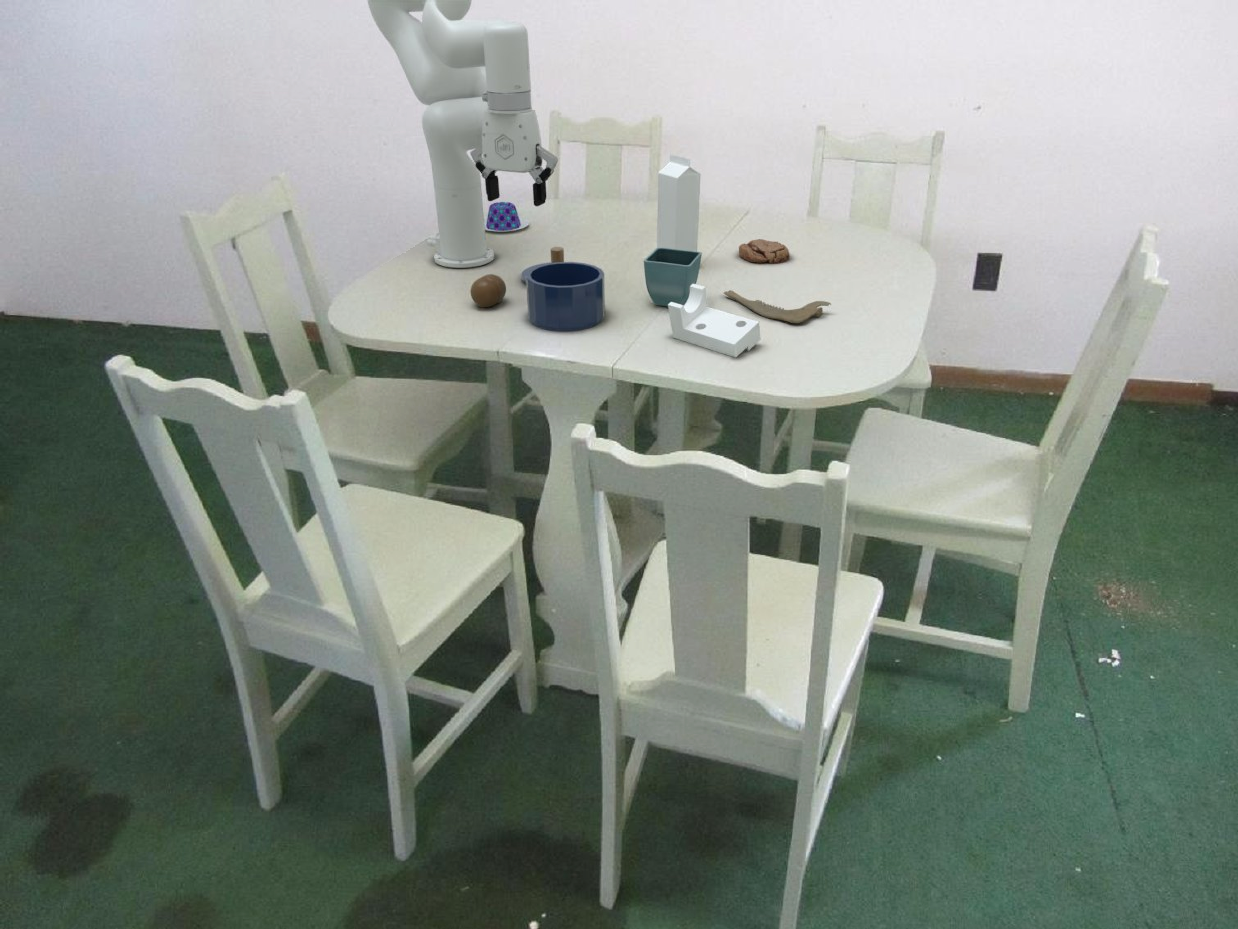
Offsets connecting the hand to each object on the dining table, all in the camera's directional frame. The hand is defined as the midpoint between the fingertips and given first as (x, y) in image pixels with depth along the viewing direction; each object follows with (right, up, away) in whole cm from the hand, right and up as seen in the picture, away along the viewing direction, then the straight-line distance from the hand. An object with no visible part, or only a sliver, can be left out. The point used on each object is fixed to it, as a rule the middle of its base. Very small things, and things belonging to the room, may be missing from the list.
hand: (516, 201), depth 165 cm
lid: (+7, -10, +15) cm, 20 cm away
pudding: (-8, +8, +48) cm, 49 cm away
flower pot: (+29, -18, +4) cm, 34 cm away
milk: (+31, -7, +23) cm, 39 cm away
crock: (+9, -21, -2) cm, 23 cm away
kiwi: (-5, -18, +4) cm, 19 cm away
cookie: (+49, -4, +28) cm, 57 cm away
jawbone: (+48, -19, +2) cm, 51 cm away
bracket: (+35, -27, -12) cm, 46 cm away
